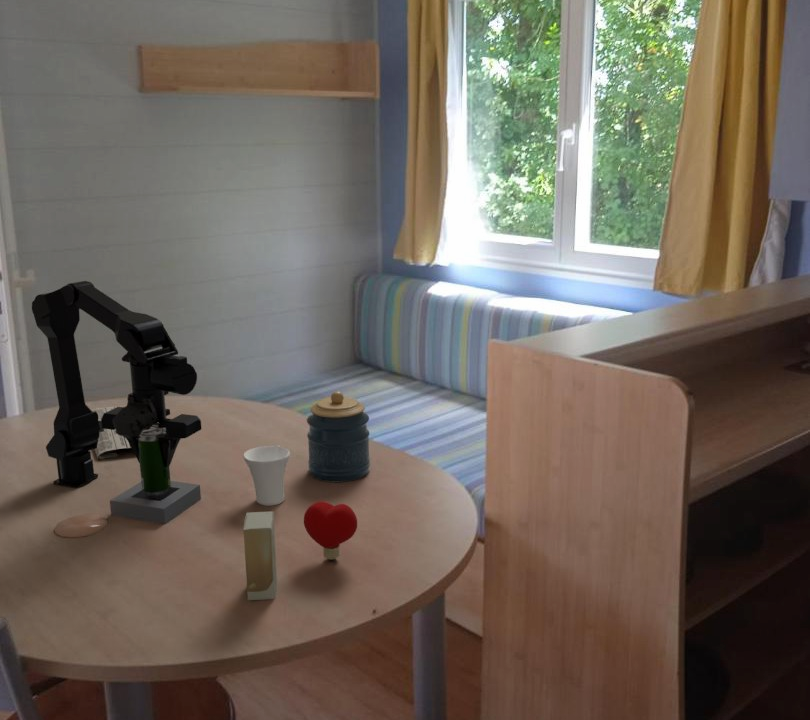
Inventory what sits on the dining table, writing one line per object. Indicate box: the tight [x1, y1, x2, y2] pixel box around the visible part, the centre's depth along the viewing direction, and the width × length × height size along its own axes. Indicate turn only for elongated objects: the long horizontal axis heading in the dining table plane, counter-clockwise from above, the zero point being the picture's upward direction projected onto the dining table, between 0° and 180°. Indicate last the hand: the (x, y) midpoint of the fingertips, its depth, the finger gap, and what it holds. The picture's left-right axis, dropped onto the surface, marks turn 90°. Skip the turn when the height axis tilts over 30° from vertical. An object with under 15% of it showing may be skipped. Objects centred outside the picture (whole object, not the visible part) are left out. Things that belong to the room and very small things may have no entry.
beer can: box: [137, 427, 172, 496], centre depth 170 cm, size 5×5×12 cm
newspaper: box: [90, 405, 132, 460], centre depth 213 cm, size 35×12×4 cm, turn 25°
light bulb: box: [303, 500, 358, 561], centre depth 149 cm, size 9×7×10 cm
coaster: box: [54, 514, 108, 539], centre depth 163 cm, size 9×9×1 cm
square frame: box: [109, 480, 202, 525], centre depth 171 cm, size 12×12×3 cm
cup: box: [242, 444, 291, 507], centre depth 173 cm, size 9×9×10 cm
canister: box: [306, 390, 371, 483], centre depth 186 cm, size 13×13×18 cm
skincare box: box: [243, 510, 278, 601], centre depth 138 cm, size 6×4×12 cm
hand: (154, 464), depth 170 cm, fingers closed on beer can, 5 cm apart
